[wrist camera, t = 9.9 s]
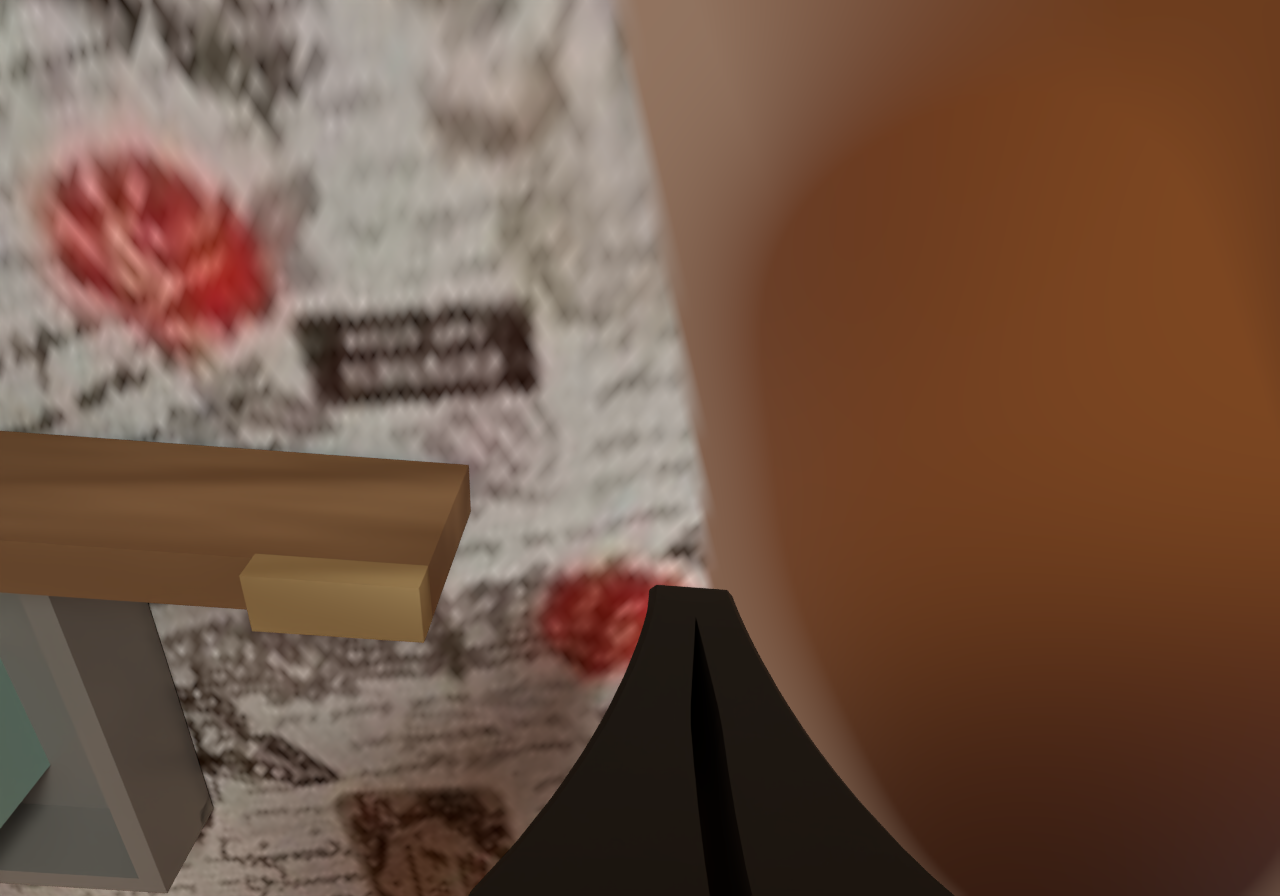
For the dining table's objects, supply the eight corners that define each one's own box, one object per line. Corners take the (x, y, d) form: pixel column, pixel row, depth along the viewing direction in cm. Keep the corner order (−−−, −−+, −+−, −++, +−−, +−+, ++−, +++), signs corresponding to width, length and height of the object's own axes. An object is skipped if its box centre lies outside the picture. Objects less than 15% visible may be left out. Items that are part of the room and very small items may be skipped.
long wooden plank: (-283, 410, 16) (-537, 521, 13) (468, 464, 17) (419, 588, 13) (-253, 460, 17) (-487, 580, 13) (470, 512, 17) (424, 642, 14)
